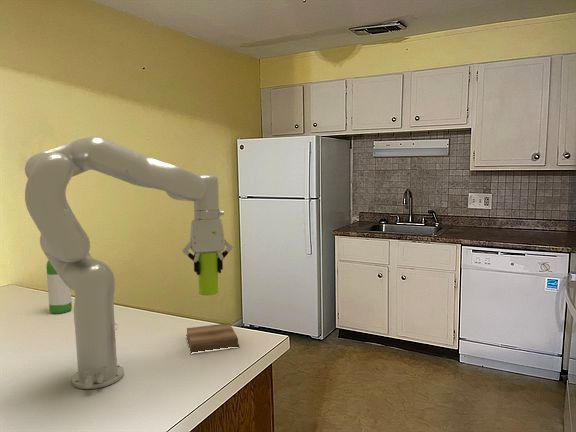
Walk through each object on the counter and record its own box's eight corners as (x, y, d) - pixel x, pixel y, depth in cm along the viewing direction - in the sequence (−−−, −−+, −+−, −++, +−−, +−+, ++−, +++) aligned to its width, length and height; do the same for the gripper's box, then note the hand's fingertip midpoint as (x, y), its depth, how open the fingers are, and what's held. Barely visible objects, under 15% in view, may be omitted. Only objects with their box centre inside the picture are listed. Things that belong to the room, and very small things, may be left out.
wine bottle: (52, 309, 176) (46, 234, 173) (73, 307, 178) (68, 233, 175) (47, 315, 169) (41, 237, 165) (70, 313, 171) (65, 235, 168)
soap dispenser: (210, 297, 135) (209, 231, 133) (195, 293, 139) (193, 229, 137) (224, 293, 140) (223, 229, 138) (208, 289, 144) (208, 227, 142)
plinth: (239, 347, 136) (239, 338, 136) (190, 354, 132) (190, 344, 132) (230, 331, 150) (230, 322, 150) (186, 336, 146) (185, 328, 145)
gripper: (232, 213, 143) (233, 268, 145) (176, 215, 137) (179, 272, 139) (237, 215, 136) (238, 273, 138) (178, 218, 130) (181, 278, 132)
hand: (208, 272), depth 139 cm, fingers closed on soap dispenser, 5 cm apart
